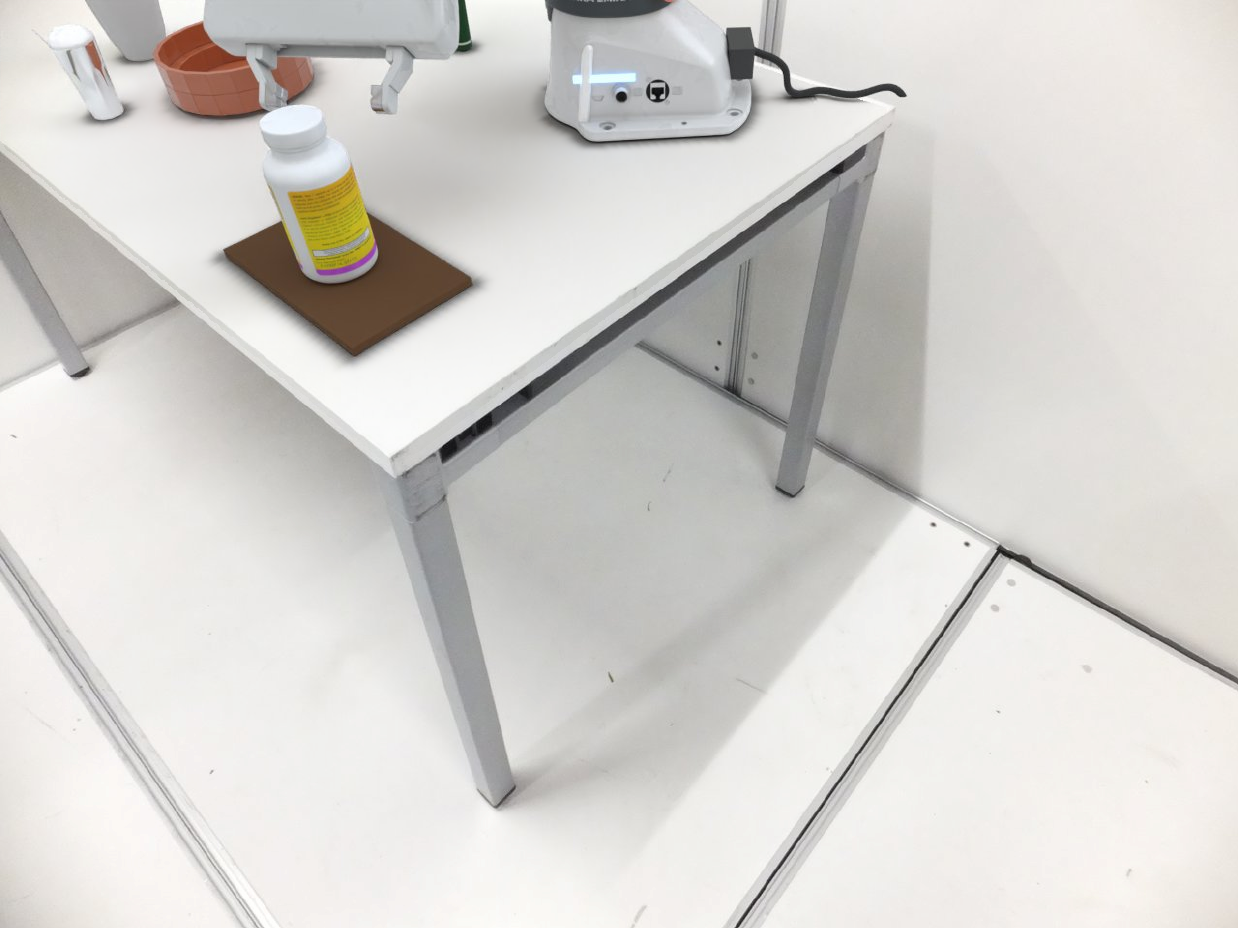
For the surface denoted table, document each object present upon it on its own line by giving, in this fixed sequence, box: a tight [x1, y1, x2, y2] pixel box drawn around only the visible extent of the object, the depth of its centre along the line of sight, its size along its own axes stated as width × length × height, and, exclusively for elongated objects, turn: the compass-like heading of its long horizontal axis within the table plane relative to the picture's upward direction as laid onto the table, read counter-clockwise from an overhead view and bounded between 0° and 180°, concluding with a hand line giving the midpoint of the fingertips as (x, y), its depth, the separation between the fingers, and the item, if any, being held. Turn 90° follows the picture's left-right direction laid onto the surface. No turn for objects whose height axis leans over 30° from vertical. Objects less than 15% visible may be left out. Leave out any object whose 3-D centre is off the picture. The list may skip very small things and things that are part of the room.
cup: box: [84, 0, 167, 62], centre depth 99 cm, size 8×8×10 cm
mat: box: [222, 212, 473, 357], centre depth 71 cm, size 20×12×1 cm, turn 46°
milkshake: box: [31, 23, 125, 121], centre depth 89 cm, size 4×5×10 cm
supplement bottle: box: [258, 104, 378, 283], centre depth 66 cm, size 7×7×13 cm
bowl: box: [153, 20, 315, 116], centre depth 94 cm, size 16×16×5 cm
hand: (327, 111), depth 66 cm, fingers open, 8 cm apart
